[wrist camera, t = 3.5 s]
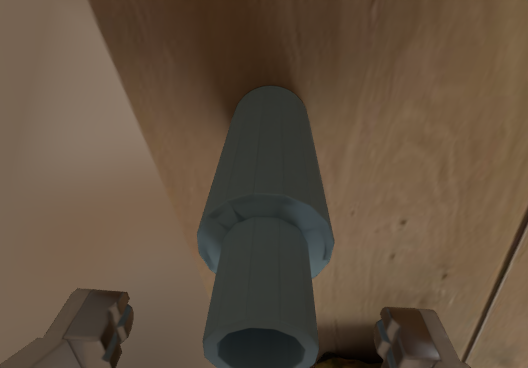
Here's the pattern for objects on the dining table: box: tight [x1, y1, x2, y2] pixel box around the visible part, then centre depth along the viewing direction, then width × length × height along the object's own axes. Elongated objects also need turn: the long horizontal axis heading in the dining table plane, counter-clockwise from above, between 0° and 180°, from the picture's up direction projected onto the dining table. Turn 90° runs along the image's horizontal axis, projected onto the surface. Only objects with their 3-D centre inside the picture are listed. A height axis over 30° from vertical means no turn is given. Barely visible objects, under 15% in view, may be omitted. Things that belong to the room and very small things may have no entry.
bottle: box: [197, 86, 334, 368], centre depth 15 cm, size 5×5×16 cm
